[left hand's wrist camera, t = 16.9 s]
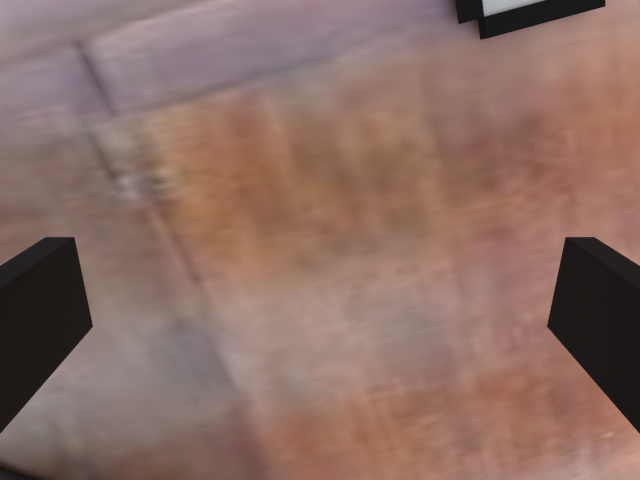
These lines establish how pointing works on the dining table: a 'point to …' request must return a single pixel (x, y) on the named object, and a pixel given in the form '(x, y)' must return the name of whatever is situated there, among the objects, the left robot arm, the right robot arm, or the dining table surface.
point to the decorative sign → (518, 13)
